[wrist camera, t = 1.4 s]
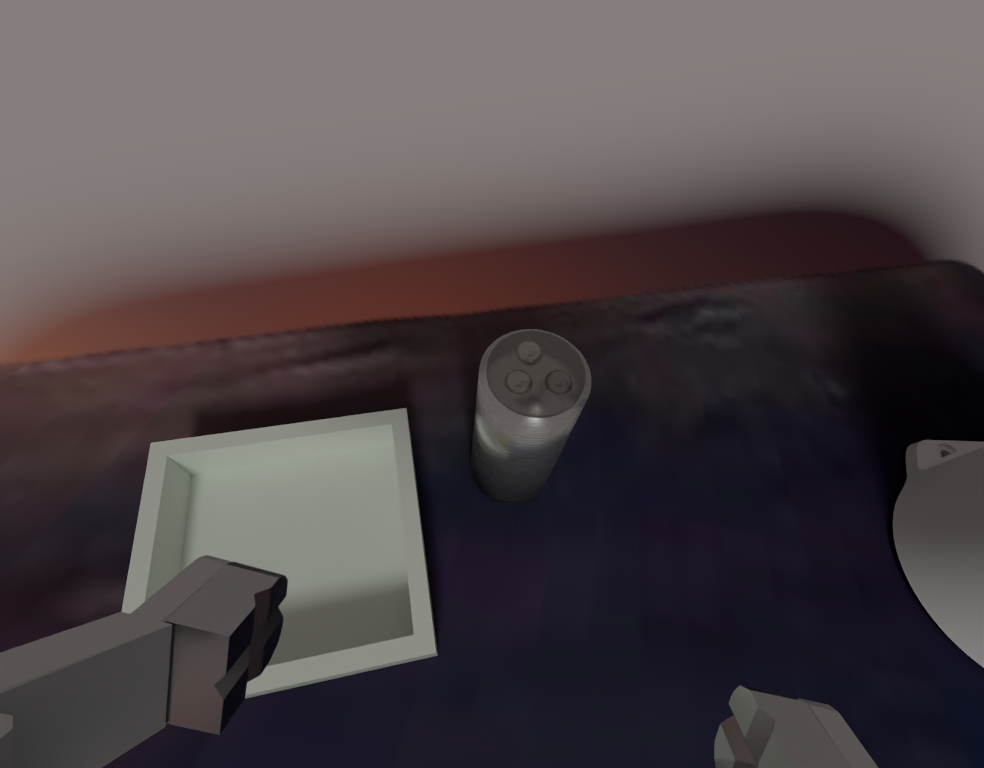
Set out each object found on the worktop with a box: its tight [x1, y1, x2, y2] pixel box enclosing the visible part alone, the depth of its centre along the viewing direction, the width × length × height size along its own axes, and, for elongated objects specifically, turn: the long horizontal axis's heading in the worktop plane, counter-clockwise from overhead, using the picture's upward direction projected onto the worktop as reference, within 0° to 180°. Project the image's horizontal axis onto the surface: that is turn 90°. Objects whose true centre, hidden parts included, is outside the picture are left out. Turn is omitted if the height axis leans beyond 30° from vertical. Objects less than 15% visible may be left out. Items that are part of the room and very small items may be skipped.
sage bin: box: [122, 408, 438, 699], centre depth 28 cm, size 15×14×4 cm
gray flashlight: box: [470, 329, 591, 504], centre depth 28 cm, size 6×6×13 cm
